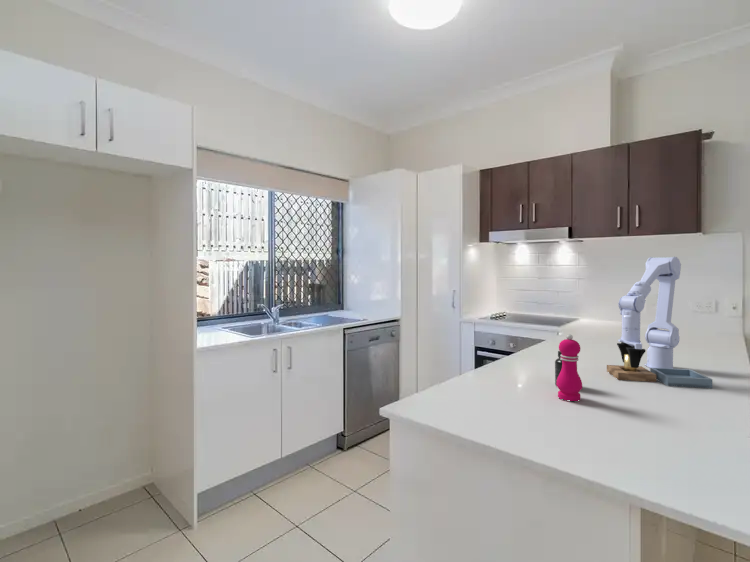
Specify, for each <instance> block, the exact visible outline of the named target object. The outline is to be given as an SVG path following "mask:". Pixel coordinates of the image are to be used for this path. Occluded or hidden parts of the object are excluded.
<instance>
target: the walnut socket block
mask: <svg viewBox="0 0 750 562" xmlns="http://www.w3.org/2000/svg"><path fill="white" fill-rule="evenodd" d="M606 372H607V373H608V372H609V373H608V374H609V375H611V376H612V375H613V376H612V377H614V378H615V379H616V378H617V379H616V380H617V381H628V380H631V382H651V383H652V382H653V383H656V382H657V379H656V374H654V373H652V372H651V371H650V370H649V369H647V368H646V367H643V366H640V365H639V367H638V368H637V372H631V371H624V365H619V364H618V365H614V364H606Z"/></svg>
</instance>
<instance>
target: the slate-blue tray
mask: <svg viewBox="0 0 750 562" xmlns="http://www.w3.org/2000/svg"><path fill="white" fill-rule="evenodd" d="M649 369H650V370H649V371H651V372H652V373H654V374H656V381H658V382H660V383H662V384H664V385H665V386H667V387H678V388H679V387H680V388H681V387H682V388H701V389H702V388H703V389H713V379H712V378H711V377H709V376H706V375H704V374H702V373H700V372H697V371H695V370H693V369H692V368H688V369H687V368H674V369H670V368H649Z"/></svg>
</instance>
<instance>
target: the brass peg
mask: <svg viewBox="0 0 750 562" xmlns="http://www.w3.org/2000/svg"><path fill="white" fill-rule="evenodd" d="M623 366H624V371H631V372H637V368H632V367H631V365H630V358H629V354H624V362H623Z"/></svg>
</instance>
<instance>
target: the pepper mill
mask: <svg viewBox="0 0 750 562" xmlns="http://www.w3.org/2000/svg"><path fill="white" fill-rule="evenodd" d="M565 337H566V339H565V338H564V339H562V340H561V341H560V342H559V344H558V351H560V352H561V353H562V354H561V355H560V356H561V358H560V359H561V360H562V369H561V372H560V374H559V376H558V378H557V382H556V385H557V386H556V385H555V386H556V387H557V388H558V390H559V391H558V392H557V398H558V397H559V398H560V399H559V398H558V399H559V400H561V399H564V400H570V401H578V400H580V401H581V393H580V391H581V390H582V389H583V382H582V379H581V377H580V375H579V373H578V361H579V355H578V354H580V352H581V344H580V343H579V342H578V341H577V340H576V339H574V336H573V335H572V334H570V333H569V334H567V335H566V336H565ZM564 400H563V401H564ZM578 402H579V401H578Z"/></svg>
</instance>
